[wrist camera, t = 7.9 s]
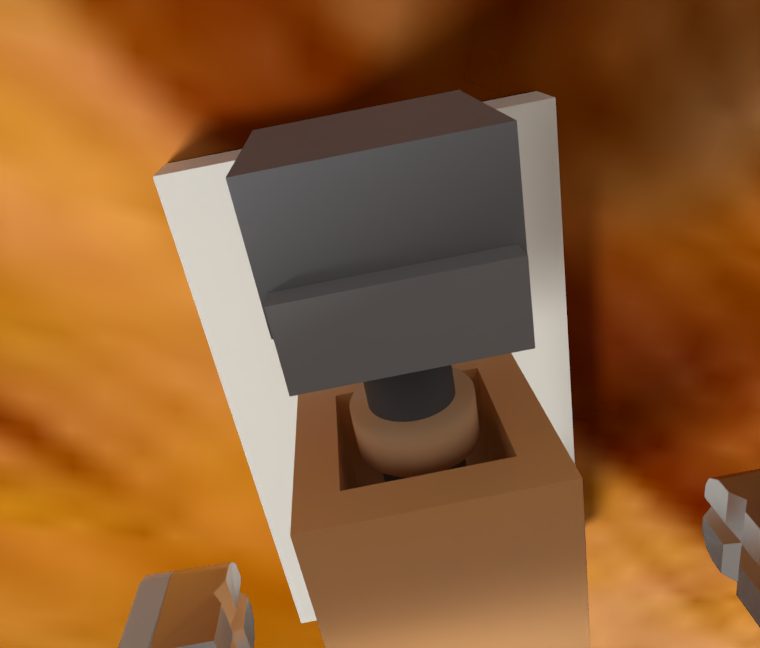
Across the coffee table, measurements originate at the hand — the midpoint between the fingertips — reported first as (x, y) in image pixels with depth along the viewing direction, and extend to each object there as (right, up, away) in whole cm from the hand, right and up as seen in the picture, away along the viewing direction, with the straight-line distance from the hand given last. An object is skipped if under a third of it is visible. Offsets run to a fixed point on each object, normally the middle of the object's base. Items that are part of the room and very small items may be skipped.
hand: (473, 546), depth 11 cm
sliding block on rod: (-1, +2, +9) cm, 10 cm away
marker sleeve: (-1, +1, +2) cm, 2 cm away
